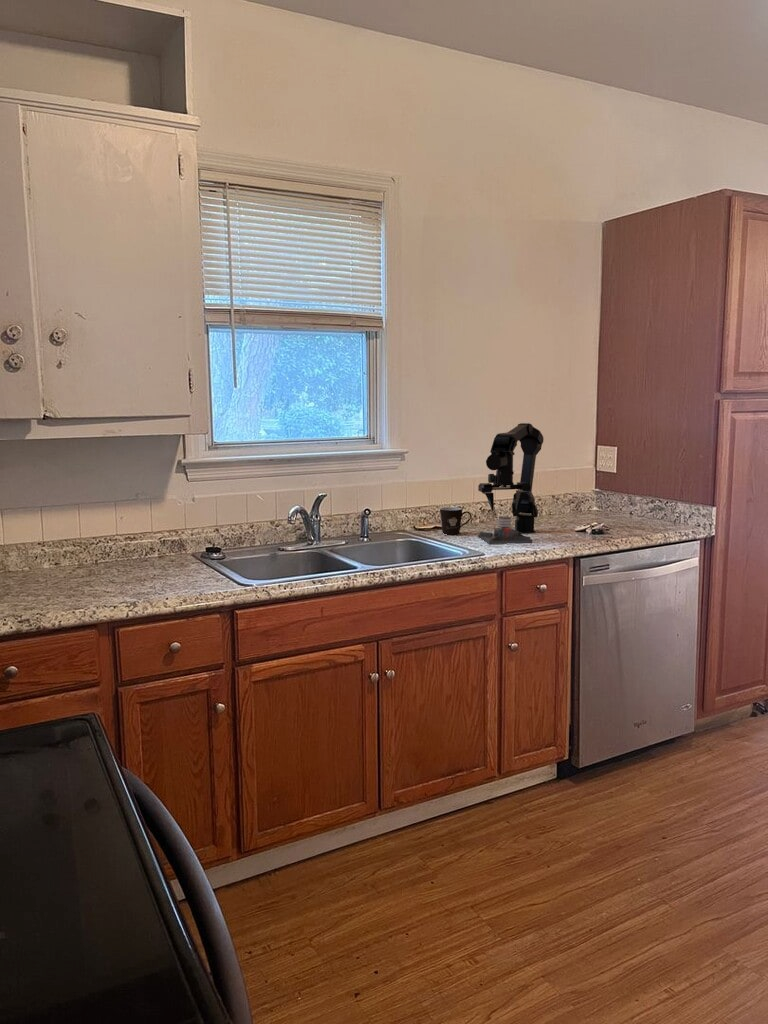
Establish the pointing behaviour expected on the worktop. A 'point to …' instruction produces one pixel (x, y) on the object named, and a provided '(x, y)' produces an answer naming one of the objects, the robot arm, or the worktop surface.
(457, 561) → the worktop surface
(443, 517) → the coffee mug
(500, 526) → the column
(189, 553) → the worktop surface
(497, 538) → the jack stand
